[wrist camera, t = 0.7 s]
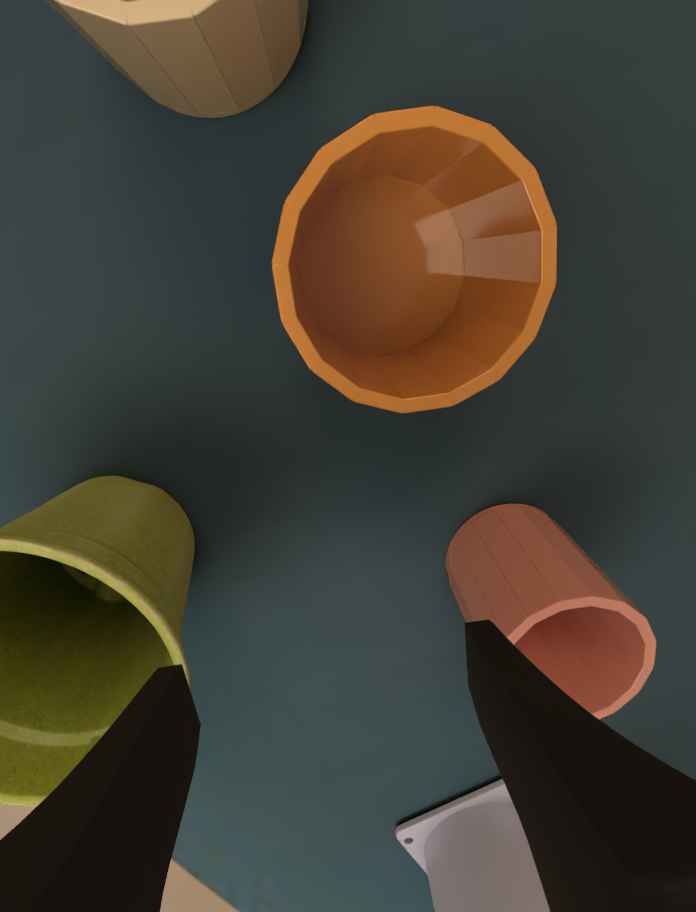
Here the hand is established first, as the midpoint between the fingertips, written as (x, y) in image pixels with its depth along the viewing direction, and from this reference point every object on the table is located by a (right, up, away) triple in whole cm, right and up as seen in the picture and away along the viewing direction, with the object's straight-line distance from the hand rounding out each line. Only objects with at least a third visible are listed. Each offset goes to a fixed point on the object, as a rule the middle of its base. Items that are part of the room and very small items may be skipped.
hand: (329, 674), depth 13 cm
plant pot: (-9, +2, +10) cm, 14 cm away
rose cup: (+8, +1, +11) cm, 14 cm away
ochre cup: (+2, +12, +6) cm, 14 cm away
